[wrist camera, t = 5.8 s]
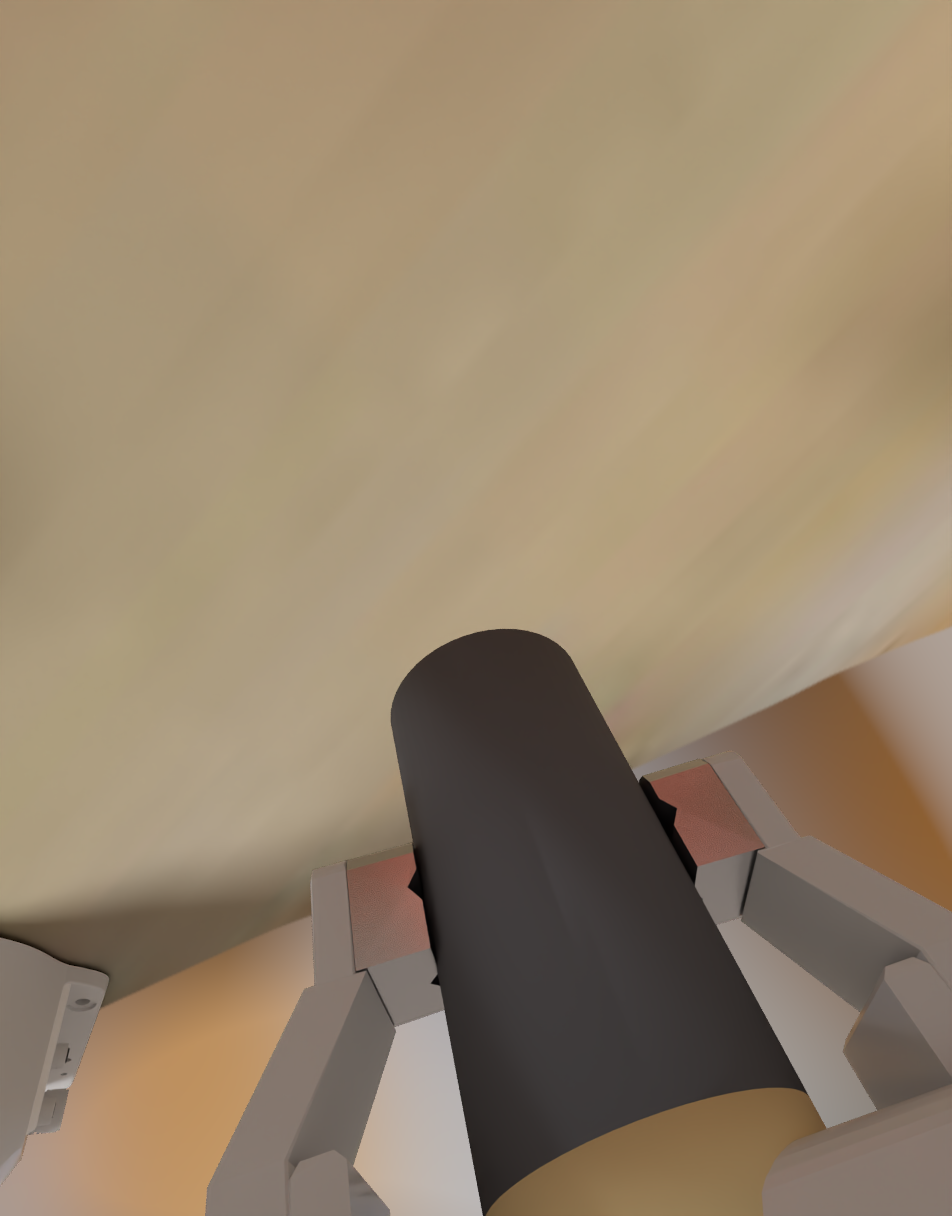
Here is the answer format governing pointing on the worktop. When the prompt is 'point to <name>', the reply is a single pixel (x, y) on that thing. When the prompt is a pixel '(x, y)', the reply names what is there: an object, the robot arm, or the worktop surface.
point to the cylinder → (578, 955)
